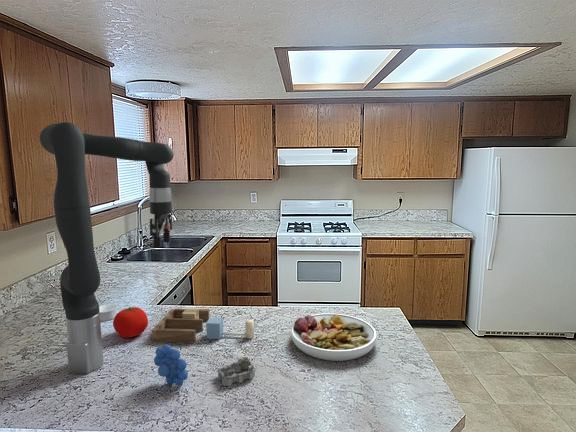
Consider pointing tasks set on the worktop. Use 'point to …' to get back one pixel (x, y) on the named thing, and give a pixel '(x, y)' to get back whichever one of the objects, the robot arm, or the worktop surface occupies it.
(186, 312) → the plain oak block
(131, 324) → the tomato
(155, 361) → the grapes
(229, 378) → the egg carton
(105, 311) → the ramekin
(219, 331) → the tethered block
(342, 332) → the bowl
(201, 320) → the lane rack
